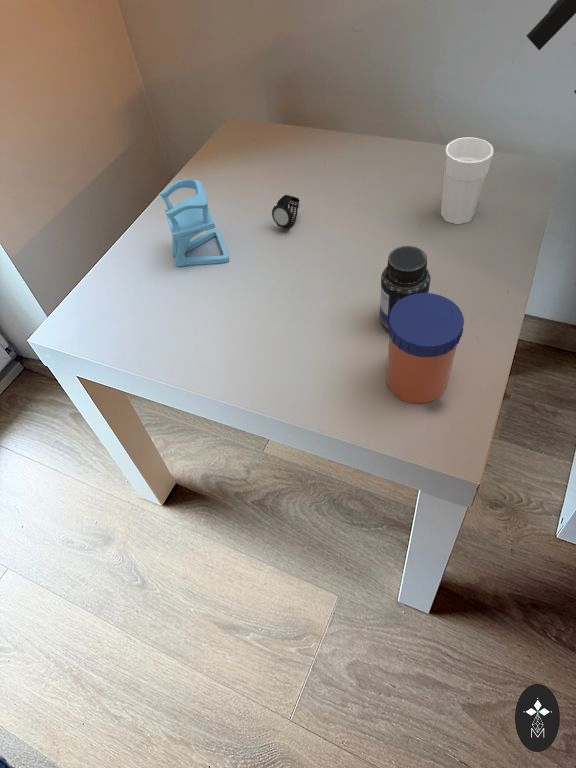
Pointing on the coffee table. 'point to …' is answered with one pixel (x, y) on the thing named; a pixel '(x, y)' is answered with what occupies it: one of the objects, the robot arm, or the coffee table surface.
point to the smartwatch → (285, 211)
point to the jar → (417, 374)
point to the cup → (464, 177)
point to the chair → (191, 224)
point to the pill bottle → (402, 278)
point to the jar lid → (425, 325)
